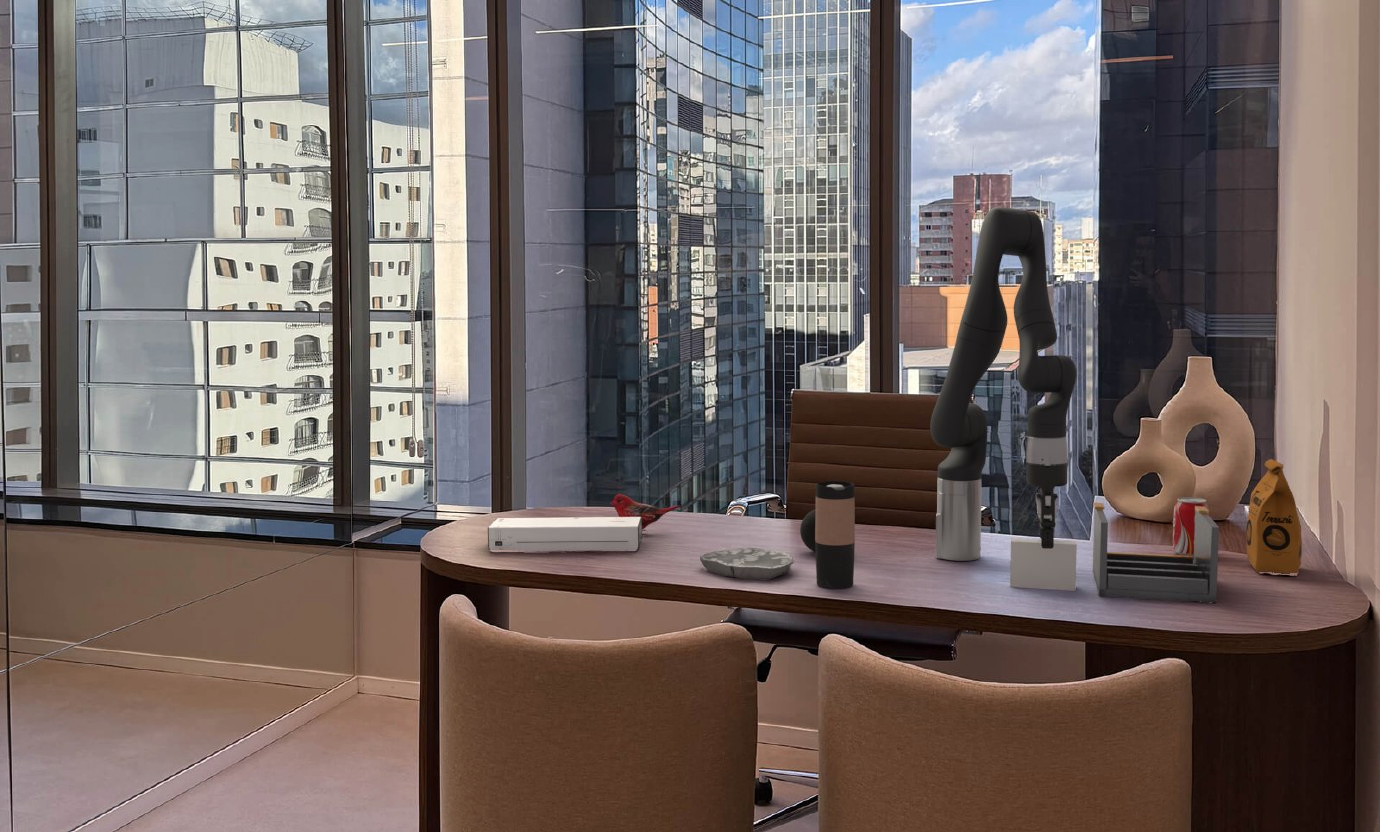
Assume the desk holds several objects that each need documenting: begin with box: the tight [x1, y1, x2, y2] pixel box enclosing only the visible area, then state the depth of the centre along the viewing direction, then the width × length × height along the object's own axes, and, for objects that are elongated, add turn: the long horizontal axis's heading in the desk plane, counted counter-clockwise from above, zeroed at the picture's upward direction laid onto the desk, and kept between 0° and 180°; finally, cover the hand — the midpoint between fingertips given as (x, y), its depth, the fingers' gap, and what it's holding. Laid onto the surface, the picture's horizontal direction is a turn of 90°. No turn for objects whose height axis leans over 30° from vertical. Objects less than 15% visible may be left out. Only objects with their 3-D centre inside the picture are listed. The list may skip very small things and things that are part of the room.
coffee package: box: [1245, 458, 1303, 574], centre depth 226 cm, size 10×12×22 cm
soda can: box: [1172, 496, 1210, 558], centre depth 241 cm, size 7×7×12 cm
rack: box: [1092, 502, 1220, 603], centre depth 215 cm, size 21×20×14 cm
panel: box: [1009, 537, 1078, 592], centre depth 216 cm, size 12×3×9 cm, turn 74°
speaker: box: [799, 508, 816, 553], centre depth 247 cm, size 10×10×10 cm
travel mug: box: [815, 480, 856, 590], centre depth 219 cm, size 8×8×20 cm
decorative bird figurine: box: [609, 493, 681, 531], centre depth 270 cm, size 3×18×10 cm, turn 107°
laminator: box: [487, 516, 643, 551], centre depth 256 cm, size 34×12×6 cm, turn 89°
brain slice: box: [699, 547, 795, 580], centre depth 233 cm, size 20×17×3 cm
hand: (1046, 543), depth 215 cm, fingers open, 8 cm apart
